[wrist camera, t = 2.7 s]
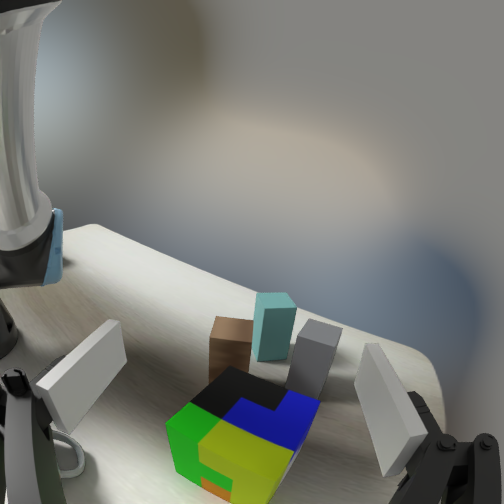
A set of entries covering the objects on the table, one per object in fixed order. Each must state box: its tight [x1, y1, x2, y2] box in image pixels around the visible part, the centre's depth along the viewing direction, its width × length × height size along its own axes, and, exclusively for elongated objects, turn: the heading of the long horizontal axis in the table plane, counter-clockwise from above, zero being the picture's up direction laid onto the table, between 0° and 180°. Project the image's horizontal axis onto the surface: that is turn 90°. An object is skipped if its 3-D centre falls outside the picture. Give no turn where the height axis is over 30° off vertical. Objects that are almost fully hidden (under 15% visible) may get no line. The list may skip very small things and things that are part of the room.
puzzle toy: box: [165, 365, 321, 504], centre depth 23 cm, size 10×10×10 cm
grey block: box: [285, 319, 343, 399], centre depth 36 cm, size 5×5×10 cm
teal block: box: [252, 293, 297, 362], centre depth 44 cm, size 5×5×10 cm
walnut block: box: [209, 316, 254, 384], centre depth 36 cm, size 5×5×10 cm
